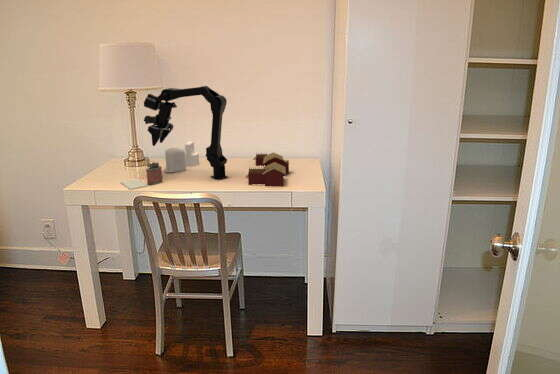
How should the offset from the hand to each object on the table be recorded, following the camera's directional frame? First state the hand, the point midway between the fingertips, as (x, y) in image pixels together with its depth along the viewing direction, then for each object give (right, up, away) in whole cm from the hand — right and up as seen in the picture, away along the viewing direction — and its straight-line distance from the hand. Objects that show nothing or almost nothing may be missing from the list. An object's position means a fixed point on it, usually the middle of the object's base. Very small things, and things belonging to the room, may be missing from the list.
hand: (157, 144), depth 233 cm
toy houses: (+55, -15, +6) cm, 57 cm away
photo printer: (+7, -13, +11) cm, 18 cm away
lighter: (+1, -19, -9) cm, 22 cm away
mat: (-8, -20, -11) cm, 24 cm away
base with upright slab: (+12, -9, +24) cm, 28 cm away
